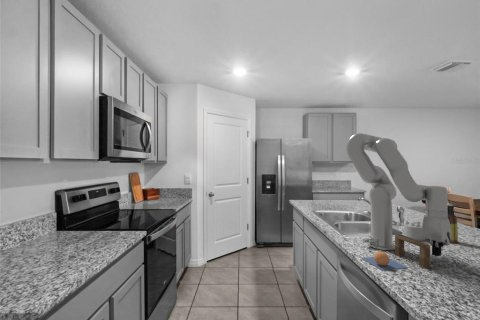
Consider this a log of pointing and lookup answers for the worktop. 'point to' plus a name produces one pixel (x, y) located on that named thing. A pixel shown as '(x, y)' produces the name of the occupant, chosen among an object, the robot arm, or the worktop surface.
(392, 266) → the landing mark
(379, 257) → the ball
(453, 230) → the sauce bottle
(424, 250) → the bridge
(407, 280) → the worktop surface
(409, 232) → the lumpy-topped squat cylinder
